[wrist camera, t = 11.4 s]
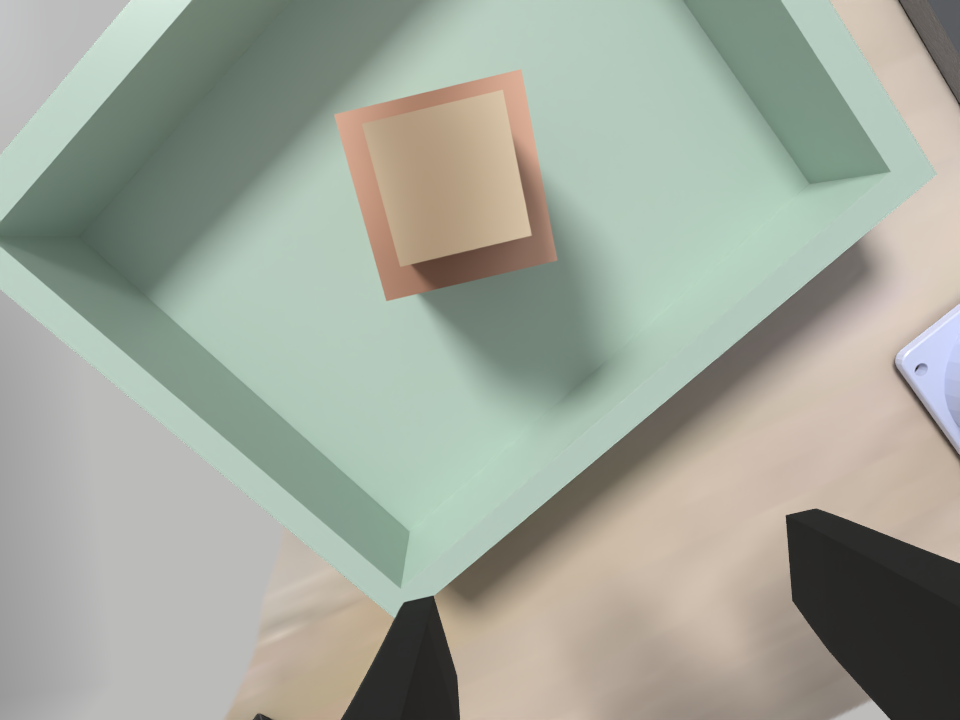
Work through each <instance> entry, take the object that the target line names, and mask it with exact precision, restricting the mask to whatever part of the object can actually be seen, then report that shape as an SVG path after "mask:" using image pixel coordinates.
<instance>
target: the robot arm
mask: <svg viewBox="0 0 960 720" xmlns="http://www.w3.org/2000/svg"><path fill="white" fill-rule="evenodd" d="M895 364H896V366H897V368H898V369H899V371H900V372H901V374H902V375H903V376H904V378H905V379H906V381H907V382H908V383H909V385H910V386H911V388H912V389H913V390H914V392H915V393H916V395H917V396H918V397H919V399H920V400H921V402H922V403H923V404H924V406H925V407H926V409H927V410H928V411H929V413H930V414H931V416H932V417H933V418H934V420H935V421H936V423H937V424H938V425H939V427H940V428H941V430H942V431H943V432H944V434H945V435H946V437H947V438H948V439H949V441H950V442H951V444H952V445H953V446H954V448H955V449H956V451H957V452H958V453H959V455H960V303H959V304H958V305H957V306H956V307H954V308H953V309H952V310H951V311H949V312H948V313H947V314H946V315H944V316H943V317H942V318H941V319H939V320H938V321H937V322H936V323H934V324H933V325H932V326H930V327H929V328H928V329H927V330H925V331H924V332H923V333H922V334H920V335H919V336H918V337H917V338H915V339H914V340H913V341H912V342H910V343H909V344H908V345H907V346H905V347H904V348H903V349H901V350H900V352H899V353H898V354H897V356H896V358H895ZM917 365H919V367H918V369H917V371H916V372H915V368H916V367H917ZM786 524H787V537H788V550H789V563H790V575H791V588H792V601H793V602H794V603H795V605H796V606H797V608H798V609H799V611H800V612H801V613H802V615H803V616H804V618H805V619H806V621H807V622H808V623H809V625H810V626H811V628H812V629H813V630H814V632H815V633H816V634H817V636H818V637H819V638H820V640H821V641H822V642H823V644H824V645H825V646H826V648H827V649H828V650H829V652H830V653H831V654H832V655H833V656H834V657H835V658H836V660H837V661H838V662H839V663H840V664H841V665H842V666H843V668H844V669H845V670H846V671H847V672H848V673H849V674H850V675H851V676H852V678H853V679H854V680H855V681H856V682H857V683H858V684H859V685H860V686H861V688H862V689H863V690H864V691H865V692H866V693H867V694H868V695H869V696H870V698H871V699H872V700H873V701H874V702H875V703H876V704H877V705H878V706H879V707H880V709H882V711H883V712H884V713H885V714H886V715H887V716H888V717H889V718H890V719H891V720H960V563H957V562H954V561H952V560H949V559H946V558H944V557H941V556H939V555H936V554H933V553H931V552H928V551H926V550H923V549H921V548H918V547H915V546H913V545H910V544H908V543H905V542H903V541H900V540H898V539H895V538H893V537H890V536H888V535H885V534H883V533H880V532H877V531H875V530H872V529H870V528H867V527H865V526H862V525H860V524H857V523H855V522H852V521H849V520H847V519H844V518H842V517H839V516H836V515H833V514H831V513H828V512H825V511H822V510H819V509H812V510H807V511H803V512H798V513H794V514H790V515H786ZM341 720H460V712H459V696H458V682H457V674H456V671H455V667H454V664H453V661H452V657H451V654H450V650H449V647H448V644H447V640H446V637H445V633H444V630H443V627H442V623H441V620H440V616H439V613H438V610H437V606H436V603H435V599H434V596H429V597H424V598H420V599H416V600H411V601H407V602H404V603H403V604H402V606H401V607H400V609H399V611H398V613H397V615H396V617H395V619H394V621H393V623H392V625H391V627H390V629H389V631H388V633H387V635H386V637H385V639H384V641H383V643H382V645H381V647H380V649H379V651H378V653H377V655H376V657H375V659H374V661H373V663H372V665H371V667H370V668H369V670H368V672H367V674H366V676H365V678H364V679H363V681H362V683H361V685H360V687H359V689H358V691H357V692H356V694H355V696H354V698H353V700H352V701H351V703H350V705H349V707H348V708H347V710H346V712H345V714H344V715H343V717H342V719H341Z"/></svg>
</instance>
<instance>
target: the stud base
mask: <svg viewBox="0 0 960 720" xmlns="http://www.w3.org/2000/svg"><path fill="white" fill-rule="evenodd" d="M900 2H901V4H902V6H903V7H904V9H905V11H906V12H907V14H908V16H909V18H910V19H911V21H912V23H913V24H914V26H915V28H916V30H917V31H918V33H919V35H920V36H921V38H922V40H923V42H924V43H925V45H926V47H927V48H928V50H929V52H930V54H931V55H932V57H933V59H934V60H935V62H936V64H937V66H938V67H939V69H940V71H941V72H942V74H943V76H944V78H945V79H946V81H947V83H948V84H949V86H950V88H951V90H952V91H953V93H954V95H955V96H956V98H957V100H958V102H959V103H960V0H900Z"/></svg>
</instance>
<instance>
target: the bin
mask: <svg viewBox="0 0 960 720" xmlns="http://www.w3.org/2000/svg"><path fill="white" fill-rule="evenodd" d="M520 69H521V70H522V76H523V81H524V86H525V91H526V97H527V102H528V107H529V113H530V118H531V123H532V129H533V134H534V139H535V145H536V150H537V155H538V160H539V166H540V171H541V176H542V182H543V187H544V192H545V198H546V203H547V208H548V214H549V219H550V224H551V229H552V235H553V240H554V245H555V251H556V256H557V261H553V262H549V263H545V264H541V265H537V266H532V267H528V268H524V269H520V270H516V271H511V272H507V273H503V274H499V275H495V276H490V277H486V278H482V279H478V280H474V281H469V282H465V283H461V284H457V285H453V286H448V287H444V288H440V289H436V290H432V291H427V292H423V293H419V294H415V295H411V296H407V297H402V298H398V299H394V300H390V301H386V298H385V295H384V291H383V287H382V284H381V280H380V277H379V273H378V270H377V266H376V262H375V259H374V255H373V252H372V248H371V245H370V241H369V237H368V234H367V230H366V227H365V223H364V220H363V216H362V212H361V209H360V205H359V202H358V198H357V195H356V191H355V187H354V184H353V180H352V177H351V173H350V170H349V166H348V162H347V159H346V155H345V152H344V148H343V145H342V141H341V137H340V134H339V130H338V127H337V123H336V120H335V116H334V114H338V113H342V112H346V111H350V110H354V109H359V108H363V107H367V106H371V105H375V104H379V103H383V102H387V101H392V100H396V99H400V98H404V97H408V96H412V95H416V94H421V93H425V92H429V91H433V90H437V89H441V88H445V87H449V86H454V85H458V84H462V83H466V82H470V81H474V80H478V79H482V78H487V77H491V76H495V75H499V74H503V73H507V72H511V71H515V70H520ZM935 175H937V173H936V172H935V170H934V168H933V167H932V165H931V164H930V162H929V160H928V159H927V157H926V155H925V154H924V152H923V151H922V149H921V147H920V146H919V144H918V143H917V141H916V139H915V138H914V136H913V134H912V133H911V131H910V130H909V128H908V126H907V125H906V123H905V121H904V120H903V118H902V117H901V115H900V113H899V112H898V110H897V109H896V107H895V105H894V104H893V102H892V100H891V99H890V97H889V96H888V94H887V92H886V91H885V89H884V87H883V86H882V84H881V83H880V81H879V79H878V78H877V76H876V75H875V73H874V71H873V70H872V68H871V66H870V65H869V63H868V62H867V60H866V58H865V57H864V55H863V54H862V52H861V50H860V49H859V47H858V45H857V44H856V42H855V41H854V39H853V37H852V36H851V34H850V32H849V31H848V29H847V28H846V26H845V24H844V23H843V21H842V20H841V18H840V16H839V15H838V13H837V11H836V10H835V8H834V7H833V5H832V3H831V2H830V0H131V1H130V2H129V3H128V4H127V5H126V6H125V8H124V9H123V10H122V11H121V13H120V14H119V15H118V16H117V17H116V18H115V20H114V21H113V22H112V23H111V24H110V25H109V27H108V28H107V29H106V30H105V31H104V33H103V34H102V35H101V36H100V37H99V39H98V40H97V41H96V42H95V44H93V46H92V47H91V48H90V49H89V50H88V52H87V53H86V54H85V55H84V56H83V57H82V59H81V60H80V61H79V62H78V64H77V65H76V66H75V67H74V68H73V69H72V71H71V72H70V73H69V74H68V75H67V76H66V78H65V79H64V80H63V81H62V83H61V84H60V85H59V86H58V87H57V88H56V90H55V91H54V92H53V93H52V94H51V96H50V97H49V98H48V99H47V100H46V101H45V103H44V104H43V105H42V106H41V107H40V108H39V110H38V111H37V112H36V113H35V115H34V116H33V117H32V118H31V119H30V120H29V122H28V123H27V124H26V125H25V126H24V127H23V129H22V130H21V131H20V132H19V133H18V135H17V136H16V137H15V138H14V139H13V141H12V142H11V143H10V144H9V145H8V146H7V148H6V149H5V150H4V151H3V152H2V154H1V155H0V289H1V290H2V291H3V292H4V293H5V294H6V295H8V296H9V297H10V298H11V299H13V300H14V301H15V302H16V303H17V304H18V305H20V306H21V307H22V308H23V309H24V310H26V311H27V312H28V313H29V314H30V315H32V316H33V317H34V318H35V319H36V320H38V321H39V322H40V323H41V324H42V325H44V326H45V327H46V328H47V329H49V330H50V331H51V332H52V333H53V334H54V335H56V336H57V337H58V338H59V339H60V340H62V341H63V342H64V343H65V344H66V345H68V346H69V347H70V348H71V349H72V350H74V351H75V352H76V353H77V354H78V355H80V356H81V357H82V358H83V359H84V360H86V361H87V362H88V363H89V364H90V365H92V366H93V367H94V368H95V369H96V370H98V371H99V372H100V373H101V374H102V375H104V376H105V377H106V378H107V379H108V380H109V381H111V382H112V383H113V384H114V385H115V386H117V387H118V388H119V389H120V390H122V391H123V392H124V393H125V394H126V395H128V396H129V397H130V398H131V399H132V400H133V401H135V402H136V403H137V404H138V405H139V406H141V407H142V408H143V409H144V410H146V411H147V412H148V413H149V414H150V415H151V416H153V417H154V418H155V419H156V420H158V421H159V422H160V423H161V424H162V425H163V426H165V427H166V428H167V429H168V430H170V431H171V432H172V433H173V434H174V435H176V436H177V437H178V438H179V439H180V440H182V441H183V442H184V443H185V444H186V445H187V446H189V447H190V448H191V449H192V450H193V451H195V452H196V453H197V454H198V455H199V456H201V457H202V458H203V459H204V460H205V461H207V462H208V463H209V464H210V465H211V466H213V467H214V468H215V469H216V470H217V471H219V472H220V473H221V474H222V475H223V476H225V477H226V478H227V479H228V480H229V481H231V482H232V483H233V484H234V485H235V486H237V487H238V488H239V489H240V490H241V491H243V492H244V493H245V494H246V495H247V496H249V497H250V498H251V499H252V500H253V501H255V502H256V503H257V504H258V505H259V506H260V507H262V508H263V509H264V510H265V511H266V512H268V513H269V514H270V515H271V516H272V517H274V518H275V519H276V520H277V521H278V522H280V523H281V524H282V525H283V526H284V527H286V528H287V529H288V530H289V531H290V532H292V533H293V534H294V535H295V536H296V537H298V538H299V539H300V540H301V541H302V542H304V543H305V544H306V545H307V546H308V547H310V548H311V549H312V550H313V551H314V552H316V553H317V554H318V555H319V556H320V557H322V558H323V559H324V560H325V561H326V562H328V563H329V564H330V565H331V566H332V567H334V568H335V569H336V570H337V571H338V572H340V573H341V574H342V575H343V576H344V577H346V578H347V579H348V580H349V581H350V582H352V583H353V584H354V585H355V586H356V587H358V588H359V589H360V590H361V591H362V592H364V593H365V594H366V595H367V596H368V597H370V598H371V599H372V600H373V601H374V602H376V603H377V604H378V605H379V606H380V607H382V608H383V609H384V610H385V611H386V612H388V613H389V614H390V615H391V616H392V617H393V618H395V617H396V615H397V613H398V611H399V609H400V607H401V606H402V604H403V603H404V602H407V601H411V600H416V599H420V598H424V597H429V596H434V595H435V594H437V593H438V592H439V591H440V590H441V589H443V588H444V587H445V586H446V585H447V584H449V583H450V582H451V581H452V580H453V579H455V578H456V577H457V576H458V575H459V574H461V573H462V572H463V571H464V570H465V569H466V568H468V567H469V566H470V565H471V564H472V563H474V562H475V561H476V560H477V559H478V558H480V557H481V556H482V555H483V554H484V553H486V552H487V551H488V550H489V549H490V548H492V547H493V546H494V545H495V544H496V543H497V542H499V541H500V540H501V539H502V538H503V537H505V536H506V535H507V534H508V533H509V532H511V531H512V530H513V529H514V528H515V527H517V526H518V525H519V524H520V523H521V522H523V521H524V520H525V519H526V518H527V517H529V516H530V515H531V514H532V513H533V512H534V511H536V510H537V509H538V508H539V507H540V506H542V505H543V504H544V503H545V502H546V501H548V500H549V499H550V498H551V497H552V496H554V495H555V494H556V493H557V492H558V491H560V490H561V489H562V488H563V487H564V486H565V485H567V484H568V483H569V482H570V481H571V480H573V479H574V478H575V477H576V476H577V475H579V474H580V473H581V472H582V471H583V470H585V469H586V468H587V467H588V466H589V465H591V464H592V463H593V462H594V461H595V460H597V459H598V458H599V457H600V456H601V455H602V454H604V453H605V452H606V451H607V450H608V449H610V448H611V447H612V446H613V445H614V444H616V443H617V442H618V441H619V440H620V439H622V438H623V437H624V436H625V435H626V434H628V433H629V432H630V431H631V430H632V429H633V428H635V427H636V426H637V425H638V424H639V423H641V422H642V421H643V420H644V419H645V418H647V417H648V416H649V415H650V414H651V413H653V412H654V411H655V410H656V409H657V408H659V407H660V406H661V405H662V404H663V403H665V402H666V401H667V400H668V399H669V398H670V397H672V396H673V395H674V394H675V393H676V392H678V391H679V390H680V389H681V388H682V387H684V386H685V385H686V384H687V383H688V382H690V381H691V380H692V379H693V378H694V377H696V376H697V375H698V374H699V373H700V372H701V371H703V370H704V369H705V368H706V367H707V366H709V365H710V364H711V363H712V362H713V361H715V360H716V359H717V358H718V357H719V356H721V355H722V354H723V353H724V352H725V351H727V350H728V349H729V348H730V347H731V346H733V345H734V344H735V343H736V342H737V341H738V340H740V339H741V338H742V337H743V336H744V335H746V334H747V333H748V332H749V331H750V330H752V329H753V328H754V327H755V326H756V325H758V324H759V323H760V322H761V321H762V320H764V319H765V318H766V317H767V316H768V315H769V314H771V313H772V312H773V311H774V310H775V309H777V308H778V307H779V306H780V305H781V304H783V303H784V302H785V301H786V300H787V299H789V298H790V297H791V296H792V295H793V294H795V293H796V292H797V291H798V290H799V289H801V288H802V287H803V286H804V285H805V284H806V283H808V282H809V281H810V280H811V279H812V278H814V277H815V276H816V275H817V274H818V273H820V272H821V271H822V270H823V269H824V268H826V267H827V266H828V265H829V264H830V263H832V262H833V261H834V260H835V259H836V258H837V257H839V256H840V255H841V254H842V253H843V252H845V251H846V250H847V249H848V248H849V247H851V246H852V245H853V244H854V243H855V242H857V241H858V240H859V239H860V238H861V237H863V236H864V235H865V234H866V233H867V232H869V231H870V230H871V229H872V228H873V227H874V226H876V225H877V224H878V223H879V222H880V221H882V220H883V219H884V218H885V217H886V216H888V215H889V214H890V213H891V212H892V211H894V210H895V209H896V208H897V207H898V206H900V205H901V204H902V203H903V202H904V201H905V200H907V199H908V198H909V197H910V196H911V195H913V194H914V193H915V192H916V191H917V190H919V189H920V188H921V187H922V186H923V185H925V184H926V183H927V182H928V181H929V180H931V179H932V178H933V177H934V176H935Z"/></svg>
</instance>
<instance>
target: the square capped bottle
mask: <svg viewBox="0 0 960 720" xmlns="http://www.w3.org/2000/svg"><path fill="white" fill-rule="evenodd" d="M334 116H335V120H336V123H337V127H338V130H339V134H340V137H341V141H342V145H343V148H344V152H345V155H346V159H347V162H348V166H349V170H350V173H351V177H352V180H353V184H354V187H355V191H356V195H357V198H358V202H359V205H360V209H361V212H362V216H363V220H364V223H365V227H366V230H367V234H368V237H369V241H370V245H371V248H372V252H373V255H374V259H375V262H376V266H377V270H378V273H379V277H380V280H381V284H382V287H383V291H384V295H385V298H386V301H390V300H394V299H398V298H402V297H407V296H411V295H415V294H419V293H423V292H427V291H432V290H436V289H440V288H444V287H448V286H453V285H457V284H461V283H465V282H469V281H474V280H478V279H482V278H486V277H490V276H495V275H499V274H503V273H507V272H511V271H516V270H520V269H524V268H528V267H532V266H537V265H541V264H545V263H549V262H553V261H557V256H556V251H555V245H554V240H553V235H552V229H551V224H550V219H549V214H548V208H547V203H546V198H545V192H544V187H543V182H542V176H541V171H540V166H539V160H538V155H537V150H536V145H535V139H534V134H533V129H532V123H531V118H530V113H529V107H528V102H527V97H526V91H525V86H524V81H523V76H522V70H521V69H520V70H515V71H511V72H507V73H503V74H499V75H495V76H491V77H487V78H482V79H478V80H474V81H470V82H466V83H462V84H458V85H454V86H449V87H445V88H441V89H437V90H433V91H429V92H425V93H421V94H416V95H412V96H408V97H404V98H400V99H396V100H392V101H387V102H383V103H379V104H375V105H371V106H367V107H363V108H359V109H354V110H350V111H346V112H342V113H338V114H334Z"/></svg>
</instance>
